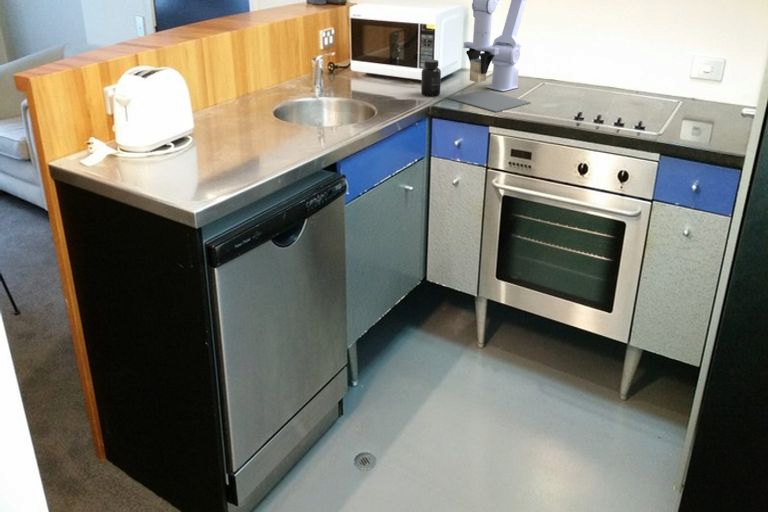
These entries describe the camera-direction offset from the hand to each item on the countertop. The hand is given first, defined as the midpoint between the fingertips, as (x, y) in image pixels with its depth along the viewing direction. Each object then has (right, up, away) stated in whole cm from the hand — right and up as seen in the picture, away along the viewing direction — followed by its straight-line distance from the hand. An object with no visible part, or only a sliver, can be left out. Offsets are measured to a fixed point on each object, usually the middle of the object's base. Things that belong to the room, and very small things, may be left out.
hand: (479, 72), depth 248 cm
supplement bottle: (-16, -6, +7) cm, 19 cm away
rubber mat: (+4, -10, 0) cm, 11 cm away
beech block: (0, -3, +1) cm, 3 cm away
